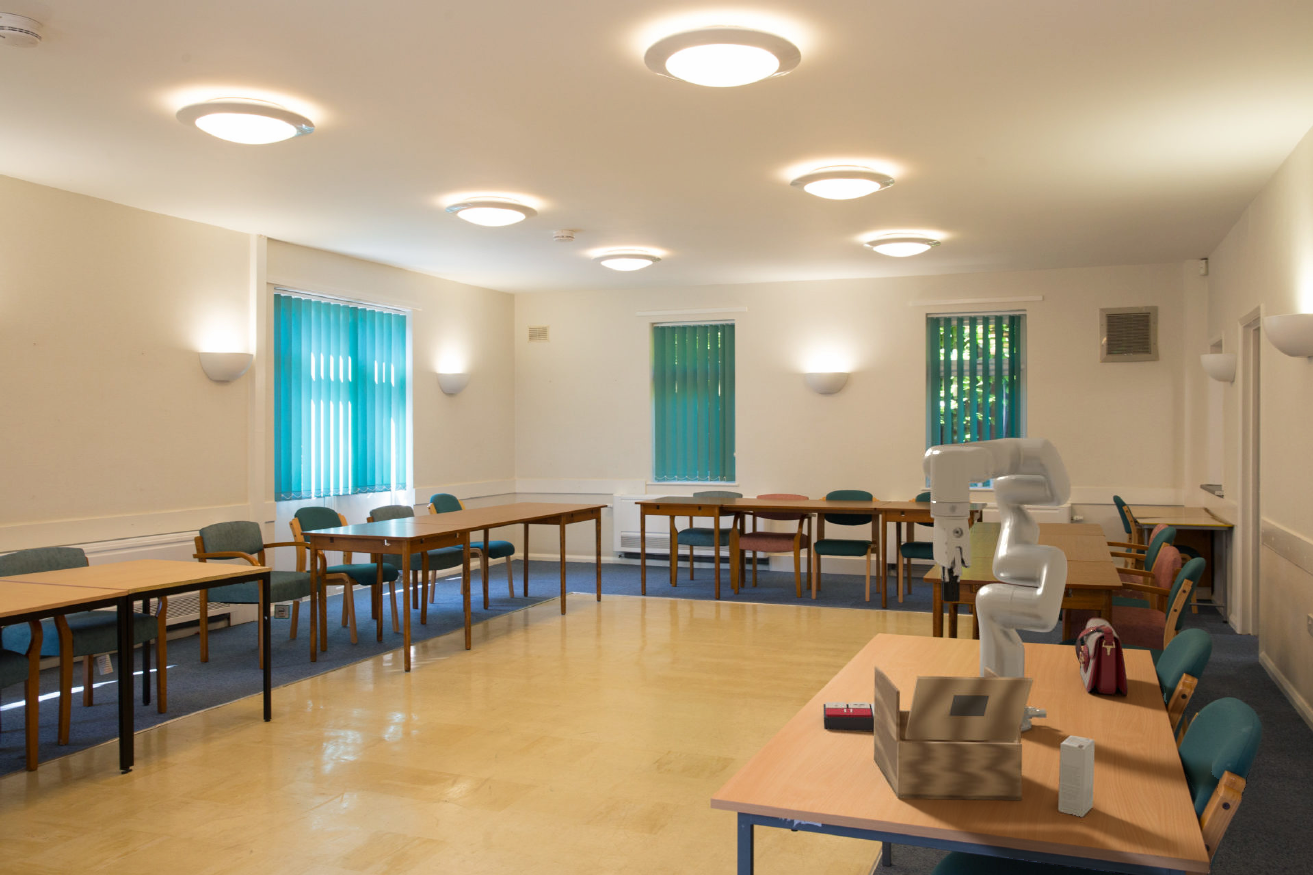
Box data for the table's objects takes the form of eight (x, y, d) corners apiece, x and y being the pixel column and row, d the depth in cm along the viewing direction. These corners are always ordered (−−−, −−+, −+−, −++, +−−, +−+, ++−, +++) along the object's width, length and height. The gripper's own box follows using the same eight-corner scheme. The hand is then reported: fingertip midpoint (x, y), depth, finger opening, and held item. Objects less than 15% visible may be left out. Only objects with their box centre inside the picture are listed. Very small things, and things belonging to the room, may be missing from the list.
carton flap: (1032, 677, 158) (1033, 680, 157) (1014, 737, 166) (1015, 740, 165) (916, 676, 158) (917, 679, 158) (904, 736, 166) (905, 739, 165)
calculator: (823, 700, 215) (889, 700, 213) (824, 718, 215) (890, 719, 213) (823, 713, 205) (893, 714, 202) (824, 733, 205) (894, 734, 202)
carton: (984, 760, 185) (985, 666, 185) (1022, 800, 165) (1023, 694, 165) (872, 759, 186) (873, 664, 186) (896, 798, 166) (897, 692, 166)
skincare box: (1067, 801, 165) (1068, 733, 165) (1094, 807, 162) (1095, 739, 162) (1057, 811, 160) (1057, 742, 160) (1084, 818, 157) (1085, 747, 157)
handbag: (1073, 670, 258) (1073, 608, 258) (1115, 673, 255) (1115, 610, 255) (1082, 696, 232) (1083, 627, 232) (1129, 701, 228) (1130, 630, 228)
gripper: (981, 514, 179) (982, 608, 179) (956, 506, 194) (956, 593, 194) (943, 514, 179) (943, 608, 179) (920, 506, 193) (921, 593, 194)
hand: (950, 600), depth 187 cm, fingers closed
